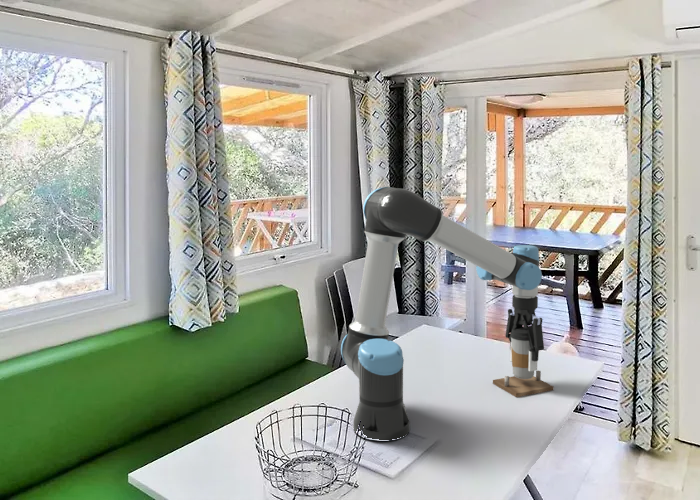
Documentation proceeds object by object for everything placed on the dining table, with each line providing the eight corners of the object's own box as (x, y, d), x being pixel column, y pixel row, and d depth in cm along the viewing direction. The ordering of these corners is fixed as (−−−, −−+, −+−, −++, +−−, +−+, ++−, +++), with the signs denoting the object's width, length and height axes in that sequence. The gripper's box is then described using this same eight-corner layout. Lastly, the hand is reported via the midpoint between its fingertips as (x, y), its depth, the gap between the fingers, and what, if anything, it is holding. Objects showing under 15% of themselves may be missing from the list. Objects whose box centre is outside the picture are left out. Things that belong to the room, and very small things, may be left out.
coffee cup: (538, 381, 176) (540, 334, 173) (510, 379, 177) (511, 333, 175) (535, 371, 184) (536, 326, 182) (508, 370, 185) (509, 325, 183)
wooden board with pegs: (516, 397, 173) (516, 384, 172) (492, 383, 184) (492, 371, 184) (553, 390, 178) (553, 377, 177) (528, 377, 189) (528, 364, 188)
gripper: (558, 301, 168) (556, 375, 172) (513, 287, 188) (512, 354, 191) (537, 304, 166) (535, 378, 169) (494, 289, 185) (493, 357, 188)
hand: (523, 365), depth 180 cm, fingers closed on coffee cup, 8 cm apart
